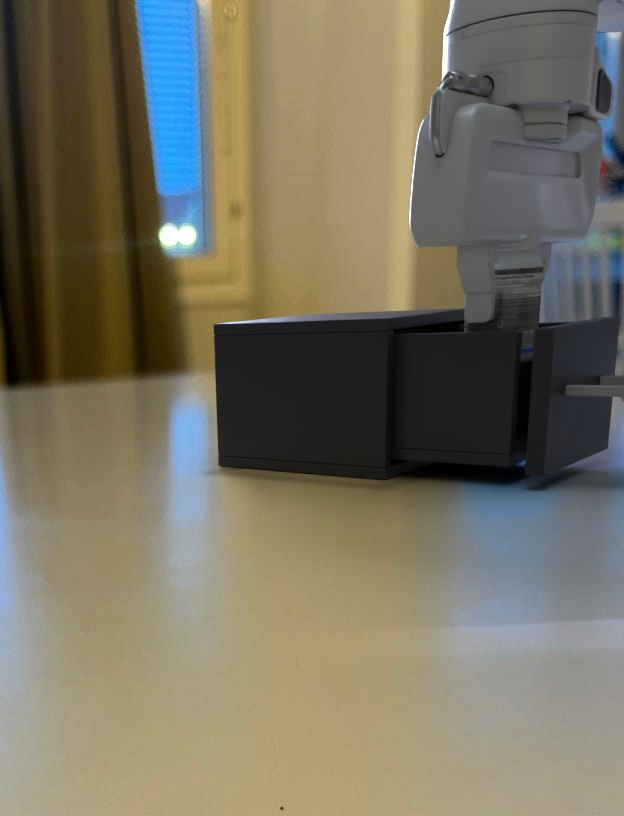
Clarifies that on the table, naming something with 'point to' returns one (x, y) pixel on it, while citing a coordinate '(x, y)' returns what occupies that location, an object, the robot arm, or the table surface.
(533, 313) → the pill bottle
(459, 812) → the table surface
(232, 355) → the cabinet
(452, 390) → the drawer
